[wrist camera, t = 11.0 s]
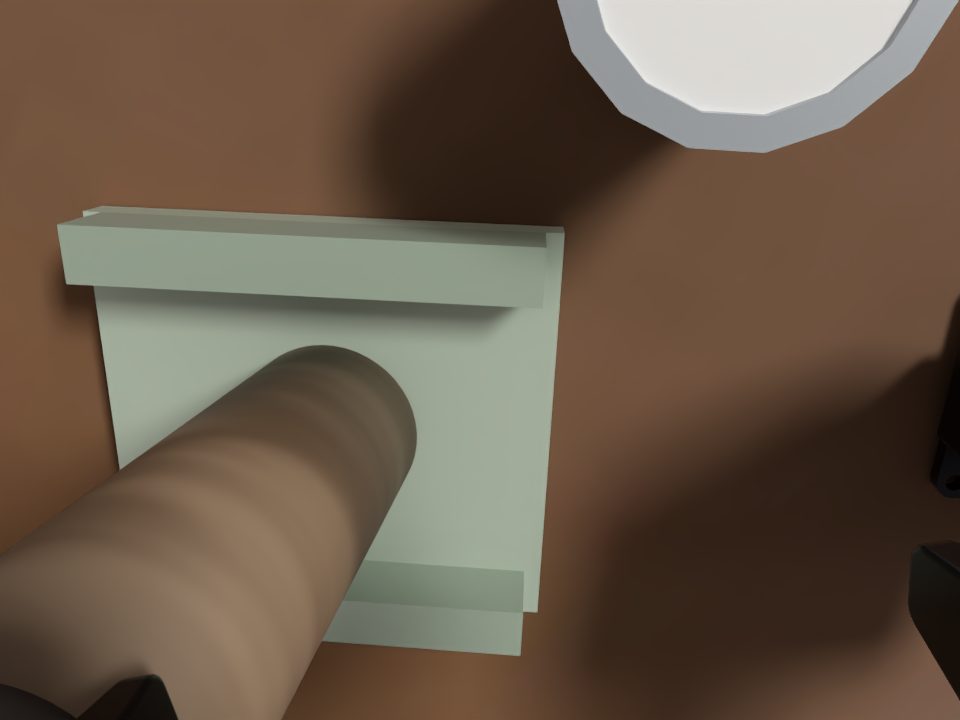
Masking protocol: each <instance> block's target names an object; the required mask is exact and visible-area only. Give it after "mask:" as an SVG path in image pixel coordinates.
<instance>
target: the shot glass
mask: <svg viewBox="0 0 960 720" xmlns="http://www.w3.org/2000/svg"><path fill="white" fill-rule="evenodd" d="M958 1H959V0H557V2H558V5H559V9H560V12H561V15H562V19H563V22H564V26H565V29H566V33H567V36H568V40H569V43H570V47H571V50H572V52H573V54H574V55H575V56H576V57H577V59H578V60H579V61H580V62H581V64H582V65H583V66H584V67H585V69H586V70H587V71H588V72H589V74H590V75H591V76H592V77H593V79H594V80H595V81H596V83H597V84H598V85H599V86H600V88H601V89H602V90H603V91H604V93H605V94H606V95H607V96H608V98H609V99H610V100H611V101H612V103H613V104H614V105H615V106H616V108H617V109H618V110H619V111H620V113H622V114H623V115H625V116H627V117H629V118H631V119H633V120H635V121H637V122H639V123H641V124H643V125H645V126H647V127H649V128H650V129H652V130H654V131H656V132H658V133H660V134H662V135H664V136H666V137H668V138H670V139H672V140H674V141H675V142H677V143H679V144H681V145H683V146H685V147H687V148H696V149H712V150H728V151H744V152H760V153H766V152H769V151H772V150H775V149H778V148H781V147H784V146H787V145H790V144H793V143H796V142H799V141H802V140H805V139H808V138H811V137H814V136H817V135H820V134H823V133H826V132H829V131H832V130H835V129H838V128H841V127H843V126H845V125H846V124H847V123H848V122H850V121H851V120H852V119H853V118H855V117H856V116H857V115H858V114H860V113H861V112H862V111H863V110H865V109H866V108H867V107H869V106H870V105H871V104H872V103H874V102H875V101H876V100H877V99H879V98H880V97H881V96H882V95H884V94H885V93H886V92H887V91H889V90H890V89H891V88H892V87H894V86H895V85H896V84H898V83H899V82H900V81H901V80H903V79H904V78H905V77H906V76H908V75H909V74H910V73H911V72H913V70H914V69H915V67H916V66H917V64H918V63H919V61H920V60H921V58H922V56H923V55H924V53H925V52H926V50H927V49H928V47H929V46H930V44H931V43H932V41H933V39H934V38H935V36H936V35H937V33H938V32H939V30H940V29H941V27H942V25H943V24H944V22H945V21H946V19H947V18H948V16H949V15H950V13H951V12H952V10H953V8H954V7H955V5H956V4H957V2H958Z"/></svg>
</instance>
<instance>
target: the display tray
mask: <svg viewBox="0 0 960 720" xmlns="http://www.w3.org/2000/svg"><path fill="white" fill-rule="evenodd" d="M83 216H84V217H82V218H78V219H75V220H71V221H68V222H64V223H61V224H57V228H58V234H59V241H60V247H61V254H62V260H63V266H64V273H65V279H66V284H73V285H92V286H94V293H95V300H96V307H97V314H98V321H99V328H100V335H101V342H102V349H103V356H104V363H105V370H106V377H107V383H108V390H109V397H110V404H111V411H112V418H113V425H114V432H115V439H116V446H117V453H118V460H119V467H120V469H122V468H123V467H125V466H126V465H127V464H129V463H130V462H132V461H133V460H134V459H136V458H137V457H139V456H140V455H141V454H143V453H144V452H146V451H147V450H148V449H150V448H151V447H153V446H154V445H155V444H157V443H158V442H160V441H161V440H162V439H164V438H165V437H167V436H168V435H169V434H171V433H172V432H174V431H175V430H176V429H178V428H179V427H181V426H182V425H183V424H185V423H186V422H188V421H189V420H190V419H192V418H193V417H195V416H196V415H197V414H199V413H200V412H202V411H203V410H204V409H206V408H207V407H209V406H210V405H211V404H213V403H214V402H216V401H217V400H218V399H220V398H221V397H223V396H224V395H225V394H227V393H228V392H230V391H231V390H232V389H234V388H235V387H237V386H238V385H239V384H241V383H242V382H243V381H245V380H246V379H248V378H249V377H250V376H252V375H253V374H255V373H256V372H257V371H259V370H260V369H262V368H263V367H264V366H266V365H267V364H269V363H270V362H271V361H273V360H274V359H276V358H277V357H279V356H280V355H282V354H284V353H286V352H288V351H291V350H294V349H297V348H300V347H306V346H312V345H329V346H337V347H342V348H346V349H349V350H352V351H355V352H358V353H360V354H362V355H364V356H366V357H368V358H369V359H371V360H372V361H374V362H376V363H377V364H379V365H380V366H381V367H382V368H383V369H385V370H386V371H387V372H388V373H389V374H390V375H391V376H392V377H393V378H394V379H395V380H396V382H397V383H398V385H399V386H400V387H401V389H402V390H403V392H404V394H405V395H406V397H407V399H408V401H409V403H410V406H411V408H412V411H413V414H414V418H415V422H416V430H417V446H416V452H415V457H414V460H413V463H412V466H411V468H410V470H409V473H408V475H407V477H406V479H405V480H404V482H403V484H402V486H401V488H400V490H399V492H398V494H397V496H396V498H395V500H394V502H393V504H392V506H391V508H390V510H389V512H388V513H387V515H386V517H385V519H384V521H383V523H382V525H381V527H380V529H379V531H378V533H377V535H376V537H375V539H374V541H373V543H372V545H371V546H370V548H369V550H368V552H367V554H366V556H365V558H364V560H363V562H362V564H361V566H360V568H359V570H358V572H357V574H356V576H355V578H354V579H353V581H352V583H351V585H350V587H349V589H348V591H347V593H346V595H345V597H344V599H343V601H342V603H341V605H340V607H339V609H338V611H337V612H336V614H335V616H334V618H333V620H332V622H331V624H330V626H329V628H328V630H327V632H326V634H325V636H324V638H323V640H322V641H328V642H341V643H355V644H368V645H381V646H395V647H408V648H421V649H435V650H448V651H461V652H475V653H488V654H501V655H515V656H520V653H521V638H522V622H523V611H524V612H537V609H538V595H539V581H540V568H541V554H542V540H543V526H544V512H545V499H546V485H547V471H548V457H549V444H550V430H551V416H552V402H553V389H554V375H555V361H556V347H557V333H558V320H559V306H560V292H561V278H562V265H563V251H564V237H565V232H564V228H563V227H553V226H531V225H509V224H487V223H465V222H444V221H422V220H400V219H378V218H356V217H334V216H313V215H291V214H269V213H247V212H225V211H203V210H182V209H160V208H138V207H116V206H100V207H97V208H93V209H89V210H86V211H83Z"/></svg>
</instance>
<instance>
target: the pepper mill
mask: <svg viewBox="0 0 960 720" xmlns="http://www.w3.org/2000/svg"><path fill="white" fill-rule="evenodd" d="M416 446H417V430H416V422H415V418H414V414H413V411H412V408H411V406H410V403H409V401H408V399H407V397H406V395H405V394H404V392H403V390H402V389H401V387H400V386H399V385H398V383H397V382H396V380H395V379H394V378H393V377H392V376H391V375H390V374H389V373H388V372H387V371H386V370H385V369H383V368H382V367H381V366H380V365H379V364H377V363H376V362H374V361H372V360H371V359H369V358H368V357H366V356H364V355H362V354H360V353H358V352H355V351H352V350H349V349H346V348H342V347H337V346H329V345H312V346H306V347H300V348H297V349H294V350H291V351H288V352H286V353H284V354H282V355H280V356H279V357H277V358H276V359H274V360H273V361H271V362H270V363H269V364H267V365H266V366H264V367H263V368H262V369H260V370H259V371H257V372H256V373H255V374H253V375H252V376H250V377H249V378H248V379H246V380H245V381H243V382H242V383H241V384H239V385H238V386H237V387H235V388H234V389H232V390H231V391H230V392H228V393H227V394H225V395H224V396H223V397H221V398H220V399H218V400H217V401H216V402H214V403H213V404H211V405H210V406H209V407H207V408H206V409H204V410H203V411H202V412H200V413H199V414H197V415H196V416H195V417H193V418H192V419H190V420H189V421H188V422H186V423H185V424H183V425H182V426H181V427H179V428H178V429H176V430H175V431H174V432H172V433H171V434H169V435H168V436H167V437H165V438H164V439H162V440H161V441H160V442H158V443H157V444H155V445H154V446H153V447H151V448H150V449H148V450H147V451H146V452H144V453H143V454H141V455H140V456H139V457H137V458H136V459H134V460H133V461H132V462H130V463H129V464H127V465H126V466H125V467H123V468H122V469H120V470H119V471H118V472H116V473H115V474H113V475H112V476H111V477H109V478H108V479H106V480H105V481H104V482H102V483H101V484H99V485H98V486H97V487H95V488H94V489H93V490H91V491H90V492H88V493H87V494H86V495H84V496H83V497H81V498H80V499H79V500H77V501H76V502H74V503H73V504H72V505H70V506H69V507H67V508H66V509H65V510H63V511H62V512H60V513H59V514H58V515H56V516H55V517H53V518H52V519H51V520H49V521H48V522H46V523H45V524H44V525H42V526H41V527H39V528H38V529H37V530H35V531H34V532H32V533H31V534H30V535H28V536H27V537H25V538H24V539H23V540H21V541H20V542H18V543H17V544H16V545H14V546H13V547H11V548H10V549H9V550H7V551H6V552H4V553H3V554H2V555H0V720H75V719H76V718H77V717H79V716H80V715H81V714H82V713H83V712H84V711H85V710H86V709H88V708H89V707H90V706H91V705H92V704H93V703H94V702H95V701H97V700H98V699H99V698H100V697H101V696H102V695H103V694H104V693H106V692H107V691H108V690H109V689H110V688H111V687H112V686H113V685H115V684H116V683H117V682H118V681H120V680H122V679H125V678H129V677H134V676H140V675H146V674H156V675H158V676H159V677H160V678H161V679H162V680H163V682H164V684H165V686H166V689H167V691H168V694H169V696H170V699H171V701H172V704H173V706H174V709H175V711H176V714H177V716H178V719H179V720H281V719H282V717H283V715H284V713H285V711H286V710H287V708H288V706H289V704H290V702H291V700H292V698H293V696H294V694H295V692H296V690H297V688H298V686H299V684H300V682H301V680H302V678H303V677H304V675H305V673H306V671H307V669H308V667H309V665H310V663H311V661H312V659H313V657H314V655H315V653H316V651H317V649H318V647H319V645H320V644H321V642H322V640H323V638H324V636H325V634H326V632H327V630H328V628H329V626H330V624H331V622H332V620H333V618H334V616H335V614H336V612H337V611H338V609H339V607H340V605H341V603H342V601H343V599H344V597H345V595H346V593H347V591H348V589H349V587H350V585H351V583H352V581H353V579H354V578H355V576H356V574H357V572H358V570H359V568H360V566H361V564H362V562H363V560H364V558H365V556H366V554H367V552H368V550H369V548H370V546H371V545H372V543H373V541H374V539H375V537H376V535H377V533H378V531H379V529H380V527H381V525H382V523H383V521H384V519H385V517H386V515H387V513H388V512H389V510H390V508H391V506H392V504H393V502H394V500H395V498H396V496H397V494H398V492H399V490H400V488H401V486H402V484H403V482H404V480H405V479H406V477H407V475H408V473H409V470H410V468H411V466H412V463H413V460H414V457H415V452H416Z"/></svg>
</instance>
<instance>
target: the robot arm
mask: <svg viewBox="0 0 960 720" xmlns="http://www.w3.org/2000/svg"><path fill="white" fill-rule="evenodd" d="M937 434H938V436H939V438H940V441H939V445H938V449H937V452H936V456H935V460H934V464H933V467H932V471H931V475H930V481H931V483H932V485H933V487H934V488H935V489H936V490H937V491H938V492H939V493H941V494H942V495H943V496H945V497H949V498H960V355H959V356H958V357H957V360H956V364H955V368H954V372H953V376H952V379H951V383H950V387H949V391H948V394H947V398H946V402H945V406H944V410H943V413H942V417H941V421H940V425H939V429H938V433H937ZM952 475H957V477H956V479H955V481H953V482H952V483H948V484H946V481H947V479H948V478H949V477H951V476H952ZM908 605H909V611H910V614H911V617H912V620H913V622H914V624H915V626H916V628H917V629H918V631H919V633H920V634H921V636H922V638H923V639H924V641H925V643H926V644H927V646H928V648H929V649H930V651H931V653H932V655H933V656H934V658H935V660H936V661H937V663H938V665H939V666H940V668H941V670H942V671H943V673H944V675H945V676H946V678H947V680H948V681H949V683H950V685H951V687H952V688H953V690H954V692H955V693H956V695H957V697H958V698H959V700H960V543H958V542H955V541H951V540H944V541H938V542H932V543H927V544H921V545H918V546H917V547H915V548H914V549H913V551H912V554H911V562H910V579H909V595H908ZM75 720H179V719H178V716H177V714H176V711H175V709H174V706H173V704H172V701H171V699H170V696H169V694H168V691H167V689H166V686H165V684H164V682H163V680H162V679H161V678H160V677H159V676H158V675H156V674H146V675H140V676H134V677H129V678H125V679H122V680H120V681H118V682H117V683H116V684H115V685H113V686H112V687H111V688H110V689H109V690H108V691H107V692H106V693H104V694H103V695H102V696H101V697H100V698H99V699H98V700H97V701H95V702H94V703H93V704H92V705H91V706H90V707H89V708H88V709H86V710H85V711H84V712H83V713H82V714H81V715H80V716H79V717H77V718H76V719H75Z"/></svg>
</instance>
